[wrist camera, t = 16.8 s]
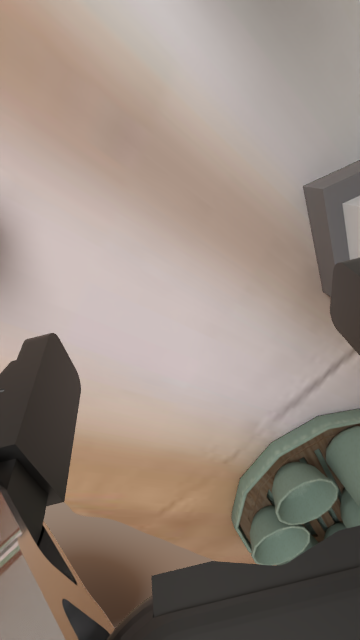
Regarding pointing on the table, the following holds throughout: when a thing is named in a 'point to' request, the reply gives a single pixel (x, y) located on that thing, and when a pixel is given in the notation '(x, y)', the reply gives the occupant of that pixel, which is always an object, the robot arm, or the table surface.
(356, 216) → the square bottle holder
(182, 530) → the table surface
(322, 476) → the tea set
